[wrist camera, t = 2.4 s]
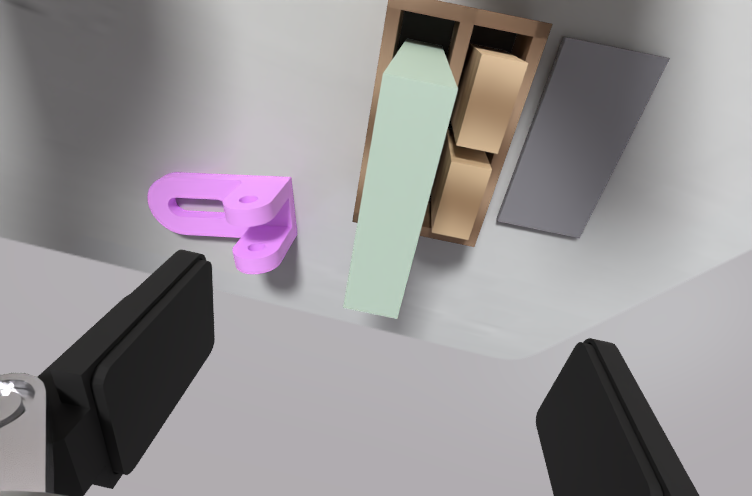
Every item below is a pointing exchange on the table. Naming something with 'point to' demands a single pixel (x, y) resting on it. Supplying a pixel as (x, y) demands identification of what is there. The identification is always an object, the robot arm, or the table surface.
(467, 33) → the walnut rack
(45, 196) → the table surface
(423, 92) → the green board
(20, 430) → the robot arm
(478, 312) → the table surface
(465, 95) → the oak offcut
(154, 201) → the bracket
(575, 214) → the charcoal mat
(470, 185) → the oak offcut
